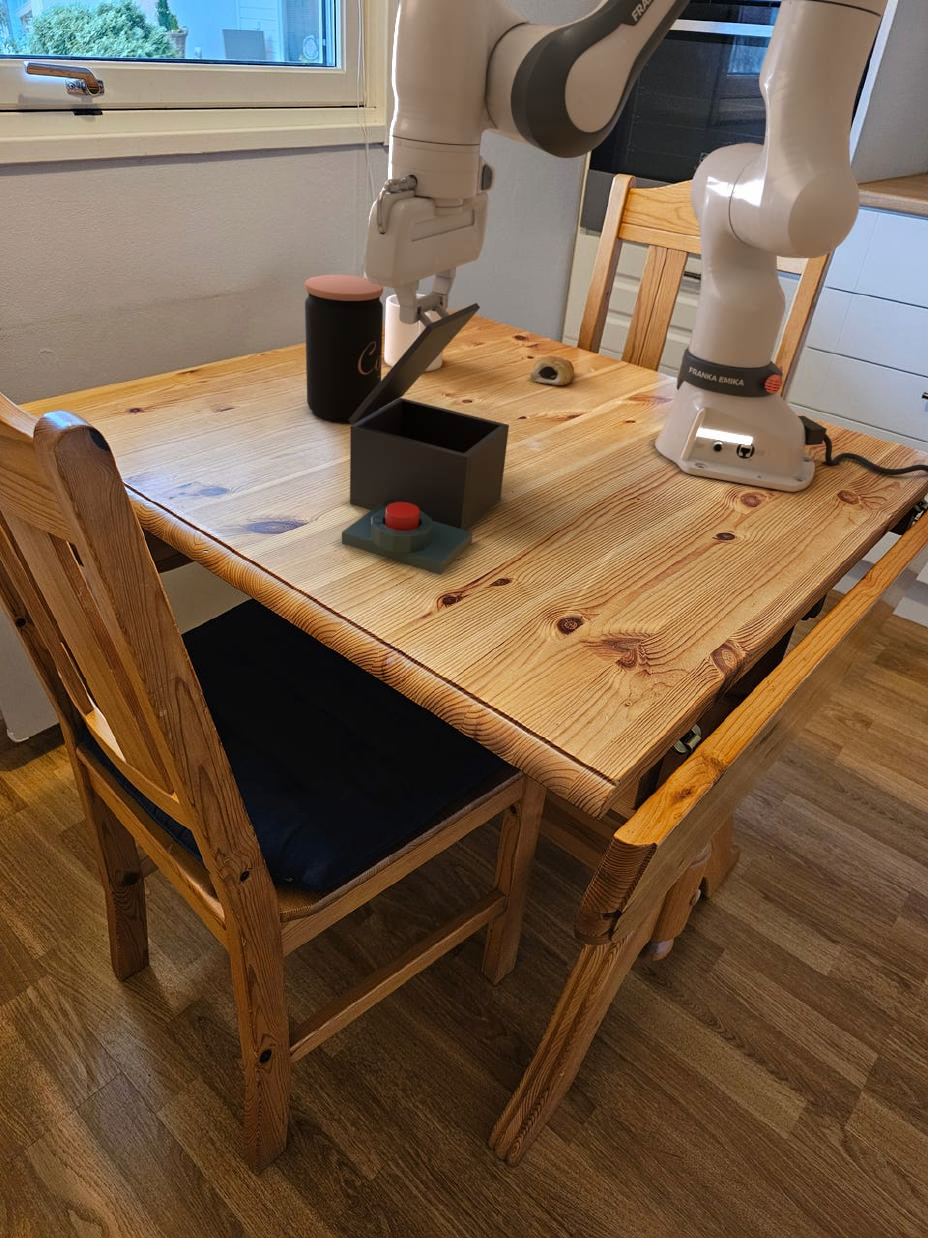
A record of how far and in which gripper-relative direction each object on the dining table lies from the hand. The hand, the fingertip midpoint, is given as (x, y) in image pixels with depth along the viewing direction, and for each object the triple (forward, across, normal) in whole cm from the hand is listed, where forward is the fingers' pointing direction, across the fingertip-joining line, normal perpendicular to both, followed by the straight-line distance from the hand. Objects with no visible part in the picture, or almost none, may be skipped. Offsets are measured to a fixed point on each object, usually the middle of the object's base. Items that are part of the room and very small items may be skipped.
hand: (424, 315), depth 91 cm
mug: (+22, +46, +24) cm, 56 cm away
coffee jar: (+22, +20, +22) cm, 37 cm away
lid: (+6, 0, +1) cm, 6 cm away
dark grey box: (+22, 0, -2) cm, 22 cm away
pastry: (+22, +55, +2) cm, 59 cm away
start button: (+19, -12, -5) cm, 23 cm away
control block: (+22, -10, -5) cm, 25 cm away
